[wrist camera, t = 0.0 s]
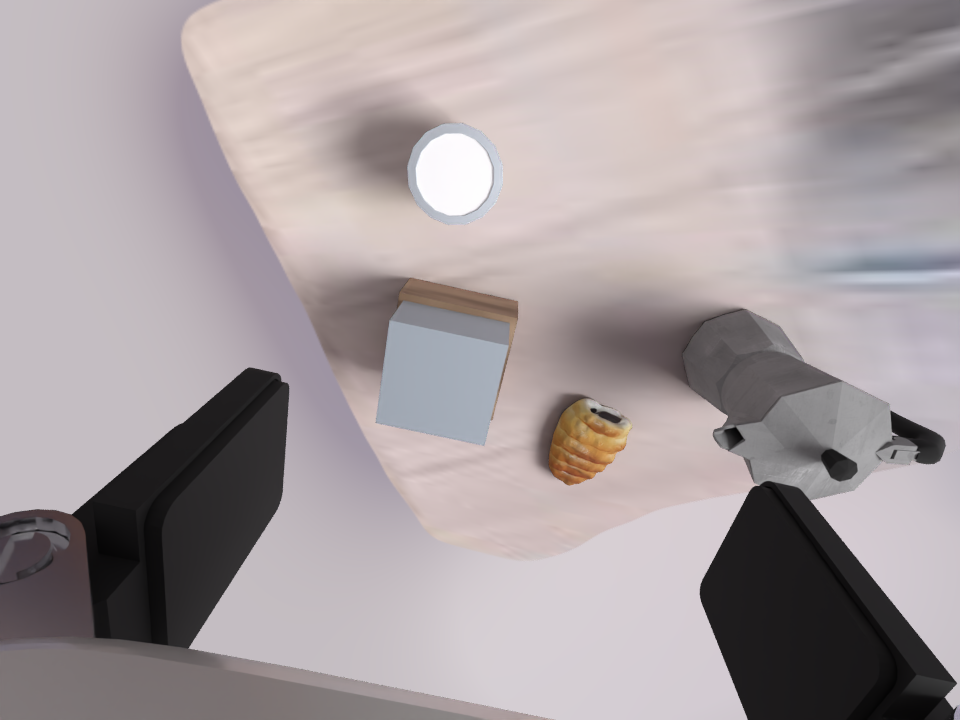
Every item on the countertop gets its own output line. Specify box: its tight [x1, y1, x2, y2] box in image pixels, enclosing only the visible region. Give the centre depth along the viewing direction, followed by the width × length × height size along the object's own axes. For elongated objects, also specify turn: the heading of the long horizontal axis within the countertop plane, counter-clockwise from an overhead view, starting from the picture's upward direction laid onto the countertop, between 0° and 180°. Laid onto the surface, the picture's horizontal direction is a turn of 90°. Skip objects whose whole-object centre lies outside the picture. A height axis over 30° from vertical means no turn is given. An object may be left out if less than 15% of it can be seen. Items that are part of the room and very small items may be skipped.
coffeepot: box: [682, 309, 946, 500], centre depth 39 cm, size 15×9×18 cm, turn 87°
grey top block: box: [376, 300, 510, 446], centre depth 42 cm, size 9×9×5 cm
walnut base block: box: [397, 278, 518, 420], centre depth 47 cm, size 10×10×5 cm
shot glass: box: [407, 123, 503, 225], centre depth 39 cm, size 7×7×7 cm
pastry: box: [549, 398, 632, 485], centre depth 51 cm, size 9×7×4 cm
